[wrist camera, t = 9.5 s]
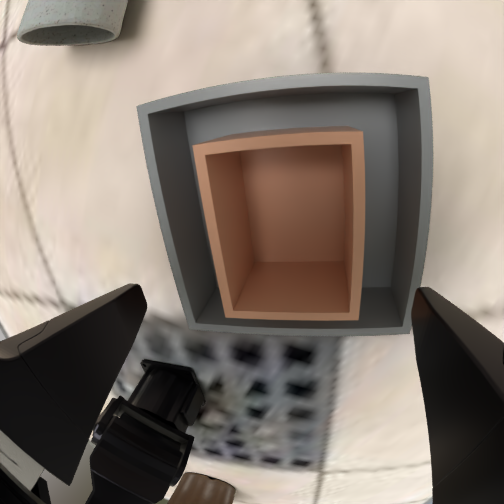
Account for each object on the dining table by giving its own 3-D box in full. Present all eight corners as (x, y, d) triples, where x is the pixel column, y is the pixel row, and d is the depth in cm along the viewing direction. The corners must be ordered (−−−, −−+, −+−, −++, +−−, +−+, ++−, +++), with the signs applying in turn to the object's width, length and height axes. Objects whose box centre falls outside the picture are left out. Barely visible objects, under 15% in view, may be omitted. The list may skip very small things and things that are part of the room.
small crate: (250, 264, 21) (225, 317, 16) (231, 134, 17) (192, 145, 12) (350, 263, 19) (358, 320, 14) (347, 125, 15) (363, 131, 10)
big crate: (213, 288, 23) (189, 329, 19) (178, 104, 17) (136, 106, 13) (395, 288, 20) (409, 333, 15) (400, 85, 14) (428, 77, 9)
